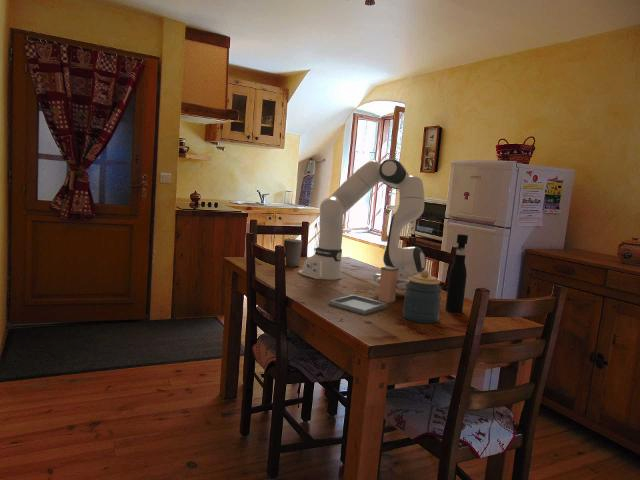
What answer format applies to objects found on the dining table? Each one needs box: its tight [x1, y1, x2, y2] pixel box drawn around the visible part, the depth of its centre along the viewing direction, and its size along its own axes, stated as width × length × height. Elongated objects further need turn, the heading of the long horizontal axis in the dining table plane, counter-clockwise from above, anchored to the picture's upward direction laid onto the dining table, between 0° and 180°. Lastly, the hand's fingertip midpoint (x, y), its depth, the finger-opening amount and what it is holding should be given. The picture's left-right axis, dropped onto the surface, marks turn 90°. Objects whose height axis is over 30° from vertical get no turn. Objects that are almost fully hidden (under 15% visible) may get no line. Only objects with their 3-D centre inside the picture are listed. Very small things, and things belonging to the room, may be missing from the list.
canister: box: [402, 270, 443, 324], centre depth 170 cm, size 13×13×18 cm
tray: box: [328, 294, 388, 316], centre depth 181 cm, size 16×16×2 cm
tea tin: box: [377, 265, 399, 304], centre depth 193 cm, size 5×5×14 cm
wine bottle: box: [445, 233, 469, 314], centre depth 184 cm, size 6×6×30 cm
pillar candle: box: [283, 238, 303, 268], centre depth 252 cm, size 10×10×15 cm
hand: (387, 283), depth 192 cm, fingers open, 8 cm apart
